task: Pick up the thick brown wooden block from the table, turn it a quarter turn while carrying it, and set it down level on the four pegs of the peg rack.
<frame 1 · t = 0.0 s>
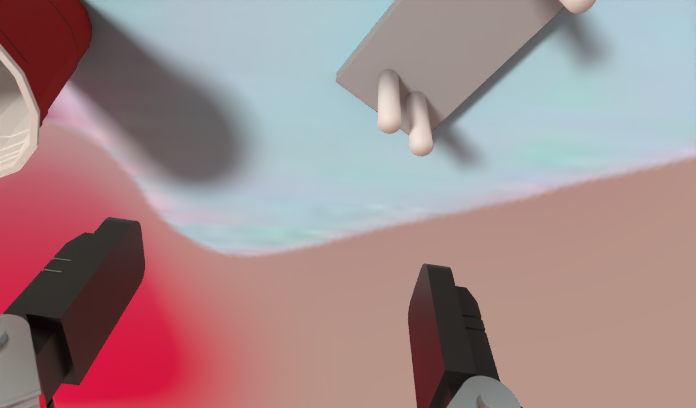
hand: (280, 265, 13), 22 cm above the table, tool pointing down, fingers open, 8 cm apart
peg rack: (457, 19, 30), on the table
plastic cup: (52, 12, 31), on the table
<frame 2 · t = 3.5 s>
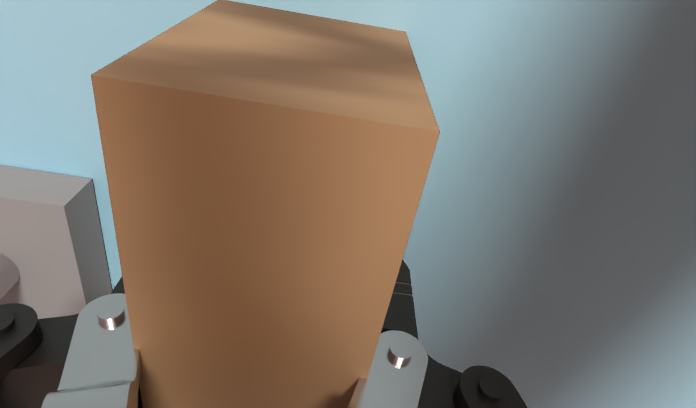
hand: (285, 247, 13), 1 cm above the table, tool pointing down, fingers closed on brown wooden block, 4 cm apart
brown wooden block: (290, 229, 14), on the table, touching gripper
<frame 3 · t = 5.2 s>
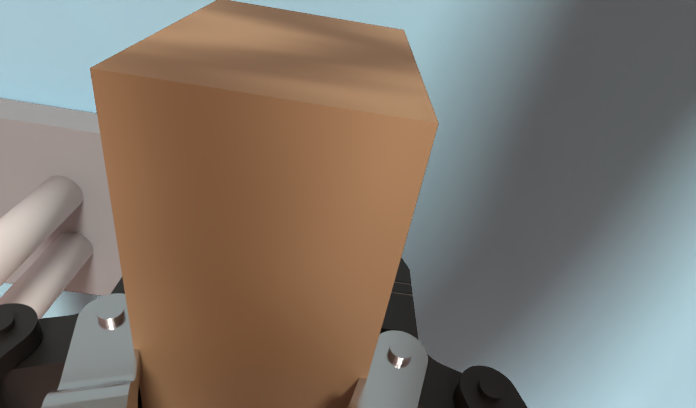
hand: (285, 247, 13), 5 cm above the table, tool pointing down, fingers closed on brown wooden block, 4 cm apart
brown wooden block: (290, 229, 14), point 4 cm above the table, touching gripper
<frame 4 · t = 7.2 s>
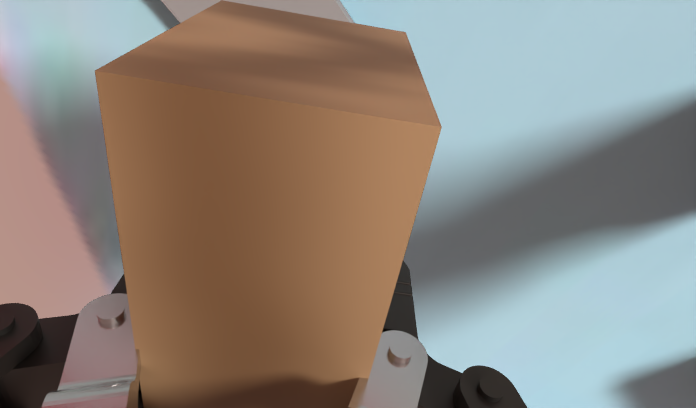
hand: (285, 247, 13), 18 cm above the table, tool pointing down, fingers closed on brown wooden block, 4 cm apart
brown wooden block: (290, 230, 14), point 17 cm above the table, touching gripper
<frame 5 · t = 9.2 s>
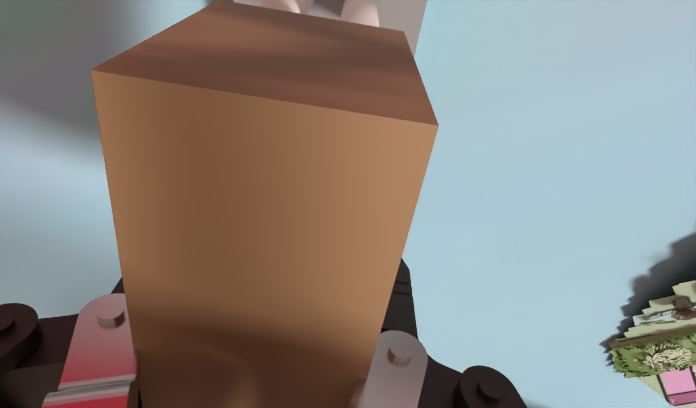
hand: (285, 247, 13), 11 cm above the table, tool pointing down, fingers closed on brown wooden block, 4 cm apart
peg rack: (317, 112, 23), on the table
brown wooden block: (290, 230, 14), point 10 cm above the table, touching gripper
when the fingers open (9 cm above the table, at t = 10.8 s): brown wooden block stays where it is, resting on peg rack.
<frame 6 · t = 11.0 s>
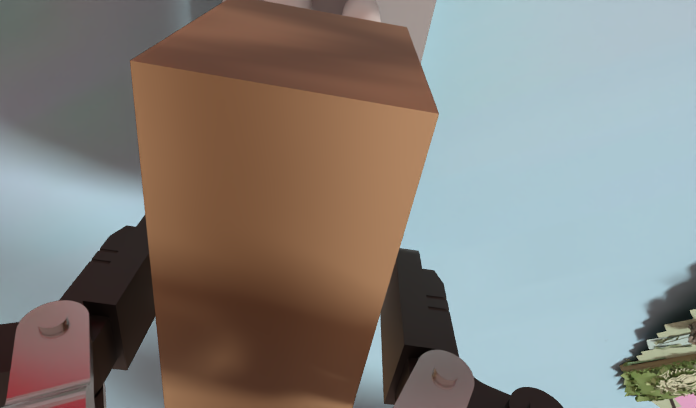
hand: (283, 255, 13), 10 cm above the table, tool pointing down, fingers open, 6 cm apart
peg rack: (314, 125, 21), on the table
brown wooden block: (295, 215, 15), point 7 cm above the table, touching peg rack
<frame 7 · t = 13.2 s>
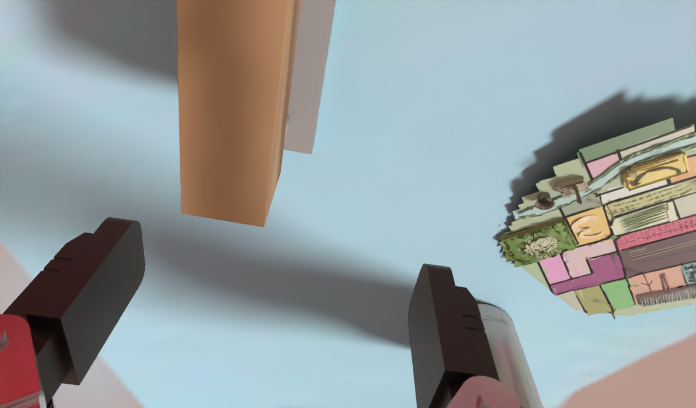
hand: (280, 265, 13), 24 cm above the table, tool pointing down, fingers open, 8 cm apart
peg rack: (273, 37, 32), on the table
brown wooden block: (253, 70, 26), point 7 cm above the table, touching peg rack
city model: (625, 222, 41), on the table
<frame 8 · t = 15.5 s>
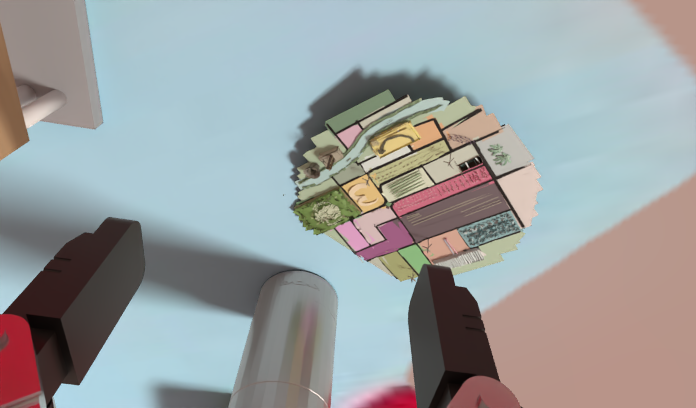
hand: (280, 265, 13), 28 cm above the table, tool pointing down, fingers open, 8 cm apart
peg rack: (39, 24, 37), on the table
city model: (406, 190, 45), on the table
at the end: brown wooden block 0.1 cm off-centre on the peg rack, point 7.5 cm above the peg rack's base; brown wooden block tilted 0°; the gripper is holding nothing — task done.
